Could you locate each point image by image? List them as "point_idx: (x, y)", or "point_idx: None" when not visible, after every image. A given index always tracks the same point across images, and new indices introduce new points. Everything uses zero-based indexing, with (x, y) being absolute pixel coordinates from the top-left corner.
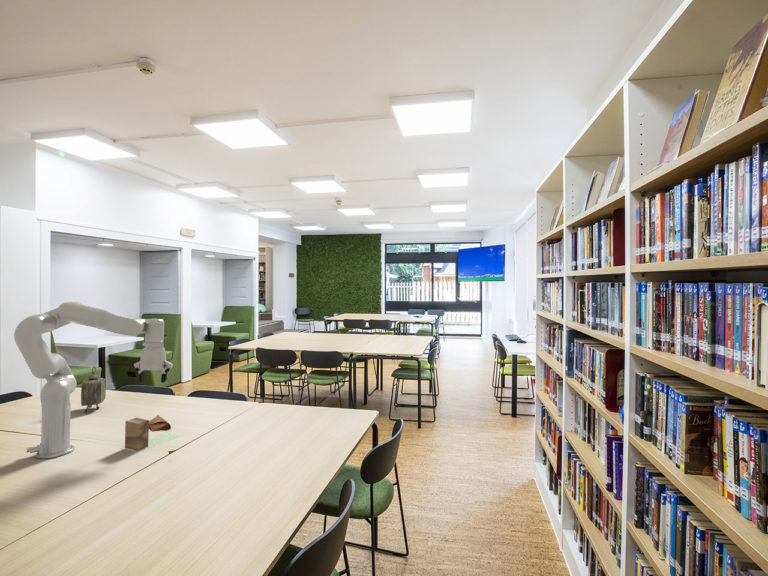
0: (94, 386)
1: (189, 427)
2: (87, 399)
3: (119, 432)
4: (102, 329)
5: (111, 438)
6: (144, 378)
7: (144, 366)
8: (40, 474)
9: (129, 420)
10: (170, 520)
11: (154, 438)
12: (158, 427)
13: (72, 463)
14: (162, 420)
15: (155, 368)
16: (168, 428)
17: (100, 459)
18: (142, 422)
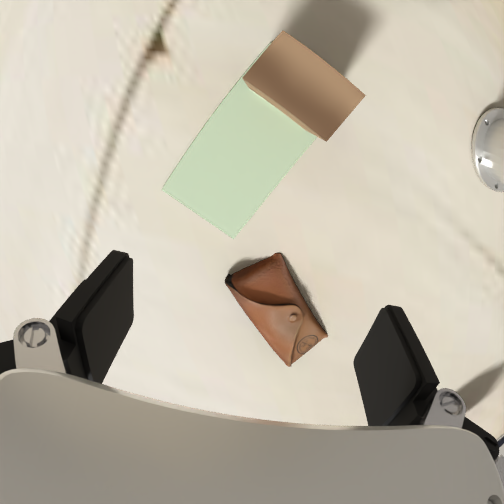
0: None
1: (166, 278)
2: None
3: (385, 278)
4: None
5: (400, 227)
6: (362, 376)
7: (435, 495)
8: (472, 4)
9: (348, 100)
10: None
11: (253, 179)
12: (265, 274)
13: (440, 38)
14: (260, 314)
15: (109, 426)
16: (232, 276)
17: (377, 34)
18: (266, 49)
